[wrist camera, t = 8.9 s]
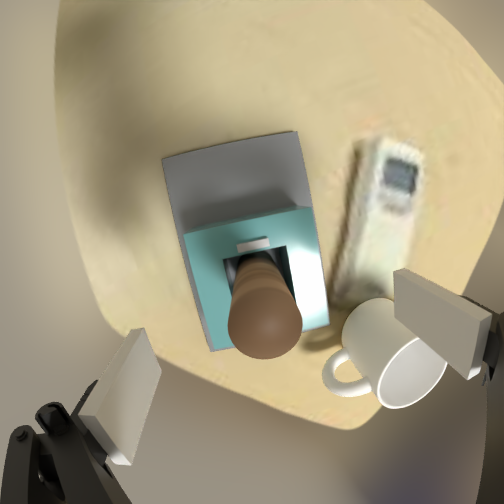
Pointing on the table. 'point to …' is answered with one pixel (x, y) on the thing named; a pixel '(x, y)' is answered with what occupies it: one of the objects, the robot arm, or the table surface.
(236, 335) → the wooden rounded dowel
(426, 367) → the mug
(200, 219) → the board
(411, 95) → the table surface
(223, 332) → the teal square peg holder
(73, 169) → the table surface
